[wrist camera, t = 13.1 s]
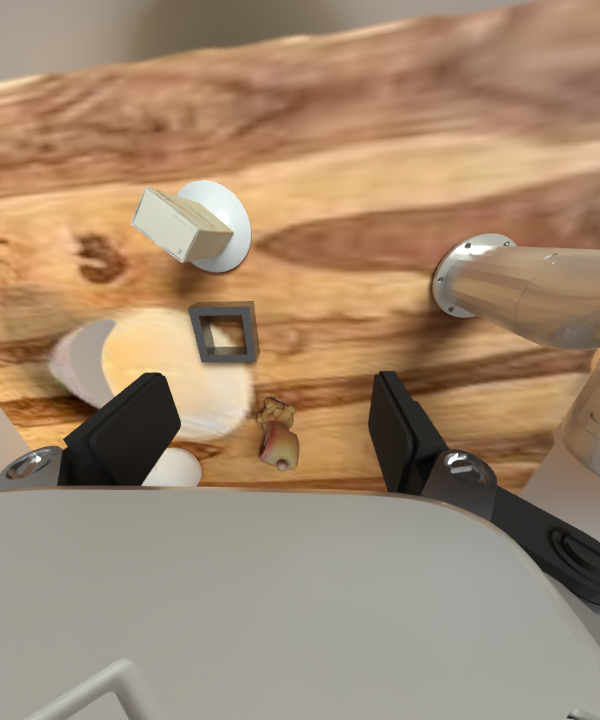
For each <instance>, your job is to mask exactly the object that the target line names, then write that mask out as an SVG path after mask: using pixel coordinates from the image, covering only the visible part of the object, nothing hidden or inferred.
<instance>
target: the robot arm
mask: <svg viewBox="0 0 600 720" xmlns="http://www.w3.org/2000/svg"><path fill="white" fill-rule="evenodd" d="M465 245H466V246H465ZM439 278H440V279H439ZM438 279H439V280H438ZM432 290H433V297H434V299H435V302H436V303H437V305H438V306H439V307H440V308H441V309H442V310H443V311H444V312H446V313H448V314H450V315H452V316H455V317H460V318H469V317H474V316H478V317H480V318H482V319H484V320H487V321H489V322H491V323H493V324H495V325H497V326H500V327H502V328H504V329H506V330H508V331H510V332H513V333H515V334H517V335H519V336H521V337H523V338H526V339H528V340H530V341H532V342H535V343H537V344H539V345H542V346H545V347H548V348H552V349H557V350H568V351H575V350H589V349H596V348H600V250H597V249H567V248H542V247H517V246H516V244H515V243H514V242H513V241H512V240H511V239H509V238H507V237H506V236H503V235H500V234H491V233H490V234H480V235H475V236H472V237H470V238H468V239H465V240H463V241H462V242H460V243H459V244H457V245H456V246H455V247H453V248H452V249H451V250H450V251H449V252H448V253H447V254H446V255H445V257H444V258H443V259H442V261H441V262H440V264H439V265H438V268H437V270H436V272H435V275H434V279H433V286H432ZM180 427H181V421H180V418H179V415H178V412H177V409H176V406H175V403H174V400H173V397H172V394H171V391H170V388H169V385H168V382H167V379H166V377H165V376H163V375H162V374H161V373H144V374H143V375H141V376H140V377H139V378H138V379H137V380H135V381H134V382H133V383H132V384H130V385H129V386H128V387H127V388H125V389H124V390H123V391H122V392H121V393H119V394H118V395H117V396H116V397H114V398H113V399H112V400H111V401H109V402H108V403H107V404H106V405H105V406H103V407H102V408H101V409H100V410H98V411H97V412H96V413H95V414H94V415H92V416H91V417H90V418H89V419H87V420H86V421H85V422H84V423H82V424H81V425H80V426H79V427H78V428H76V429H75V430H74V431H73V432H71V433H70V434H69V435H68V436H67V437H65V438H64V439H63V440H64V442H65V443H66V445H67V446H68V447H67V448H66V449H65V450H64V451H63V450H62V448H60V447H59V446H47V447H43V448H39V449H36V450H34V451H31V452H29V453H27V454H25V455H23V456H21V457H19V458H18V459H16V460H15V461H13V462H12V463H11V464H9V465H8V466H7V467H6V468H5V469H4V470H2V472H1V473H0V720H600V542H598V541H597V540H595V539H594V538H592V537H591V536H589V535H587V534H586V533H584V532H582V531H581V530H579V529H577V528H575V527H573V526H571V525H570V524H568V523H566V522H564V521H562V520H560V519H558V518H557V517H555V516H553V515H551V514H549V513H547V512H545V511H543V510H542V509H540V508H538V507H536V506H535V505H532V504H531V503H529V502H527V501H525V500H523V499H522V498H520V497H518V496H516V495H514V494H512V493H511V492H509V491H507V490H505V489H503V488H501V487H499V486H498V485H497V477H496V475H495V473H494V471H493V470H492V469H491V467H490V466H489V465H488V464H487V463H485V462H484V461H483V460H482V459H480V458H479V457H477V456H475V455H473V454H471V453H469V452H466V451H463V450H457V449H449V448H448V446H447V445H446V443H445V442H444V440H443V439H442V437H441V436H440V434H439V433H438V431H437V430H436V428H435V427H434V425H433V424H432V422H431V421H430V419H429V418H428V416H427V415H426V413H425V412H424V410H423V409H422V407H421V406H420V404H419V403H418V402H417V401H413V399H412V398H411V396H410V395H409V393H408V392H407V390H406V388H405V387H404V385H403V384H402V382H401V381H400V379H399V377H398V376H397V374H396V373H395V372H394V371H380V372H379V374H376V375H375V377H374V384H373V392H372V399H371V407H370V414H369V421H368V427H369V432H370V435H371V438H372V441H373V445H374V448H375V451H376V454H377V458H378V461H379V464H380V467H381V471H382V474H383V477H384V480H385V484H386V487H387V490H388V492H381V491H360V490H335V489H294V488H246V487H185V486H141V485H142V484H143V482H144V481H145V479H146V478H147V476H148V475H149V473H150V472H151V470H152V469H153V467H154V466H155V465H156V463H157V462H158V460H159V459H160V457H161V456H162V454H163V453H164V451H165V450H166V448H167V447H168V445H169V444H170V443H171V441H172V440H173V438H174V437H175V435H176V434H177V432H178V431H179V429H180ZM561 436H562V441H563V443H564V445H565V447H566V449H567V450H568V451H569V453H570V454H571V455H572V456H573V457H574V458H575V459H576V460H577V461H579V463H580V464H582V465H583V466H584V467H585V468H587V469H588V470H590V471H591V472H592V473H594V474H596V475H597V476H598V477H600V360H599V361H598V363H597V365H596V368H595V370H594V372H593V373H592V375H591V376H590V378H589V380H588V381H587V383H586V384H585V386H584V388H583V389H582V391H581V392H580V394H579V396H578V397H577V399H576V400H575V402H574V404H573V405H572V407H571V409H570V410H569V412H568V414H567V416H566V418H565V420H564V422H563V425H562V430H561Z"/></svg>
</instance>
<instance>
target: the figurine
mask: <svg viewBox="0 0 600 720" xmlns="http://www.w3.org/2000/svg"><path fill="white" fill-rule="evenodd" d="M265 406H266V407H265V409H264V410H263V412H258V413H257V423H261V424H262V426H263V429H264V430H265V431H264V433H263V436H262V439H261V442H260V447H259V454H258V457H259V458H260V460H262V461H263V462H265V463H267V464H270V465H273V466H277V468H278V470H280V471H285V470H286V468H287V469H291V470H294V469H295V468H296V467H297V464H298V457H299V441H298V438H297V435H296V434H294V433H292V432H290V431H288V430H289V429H290V428H291V427H292V425H293V421H294V420H293V413H294V412H295V411H296V409H295V407H294V406H287V405H286V404H285V403H283V402H280V401H278V400H275V398H272V397H271V398H270V397H268V398H267V399H266V400H265Z"/></svg>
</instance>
